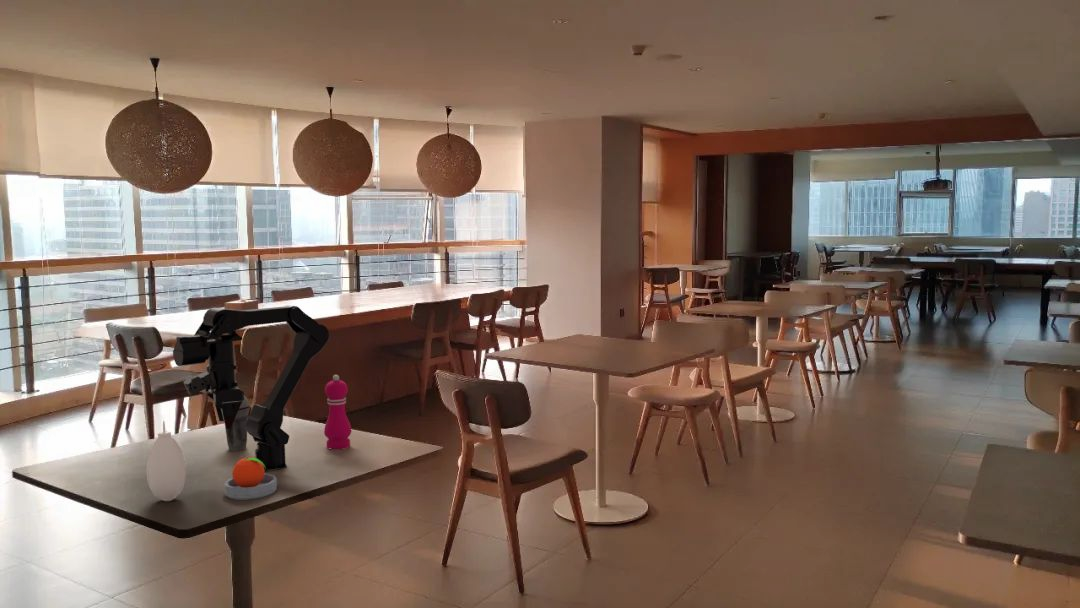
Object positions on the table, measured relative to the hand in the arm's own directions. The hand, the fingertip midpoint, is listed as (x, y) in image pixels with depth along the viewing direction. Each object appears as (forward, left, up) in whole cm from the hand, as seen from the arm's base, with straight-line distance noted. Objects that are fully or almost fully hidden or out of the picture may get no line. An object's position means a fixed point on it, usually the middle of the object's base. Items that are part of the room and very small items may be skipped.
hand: (225, 424), depth 197 cm
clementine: (-4, +14, -12) cm, 19 cm away
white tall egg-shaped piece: (+13, +11, -13) cm, 22 cm away
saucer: (-4, +14, -13) cm, 20 cm away
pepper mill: (-30, -15, -13) cm, 36 cm away
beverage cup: (-5, -26, -13) cm, 29 cm away
